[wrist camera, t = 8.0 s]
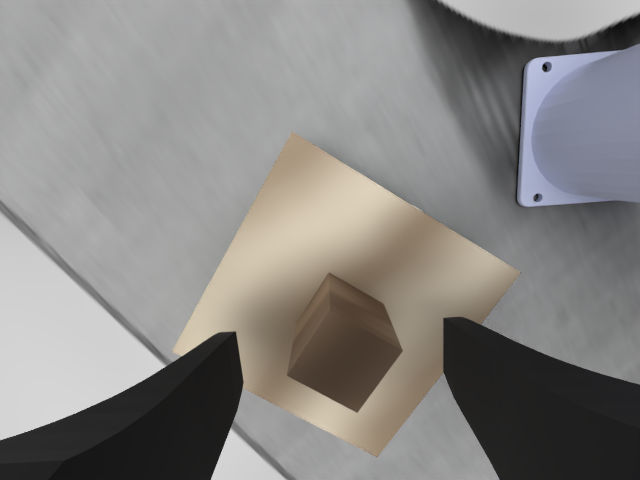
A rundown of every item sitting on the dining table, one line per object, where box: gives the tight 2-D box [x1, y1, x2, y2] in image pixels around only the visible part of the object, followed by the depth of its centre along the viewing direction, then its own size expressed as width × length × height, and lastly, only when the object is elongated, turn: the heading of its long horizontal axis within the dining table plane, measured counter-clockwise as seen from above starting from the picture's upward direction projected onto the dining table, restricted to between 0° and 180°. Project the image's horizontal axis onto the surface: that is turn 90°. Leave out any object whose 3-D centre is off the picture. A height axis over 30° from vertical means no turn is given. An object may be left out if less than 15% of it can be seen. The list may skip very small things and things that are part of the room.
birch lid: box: [172, 132, 521, 457], centre depth 14 cm, size 12×12×5 cm
